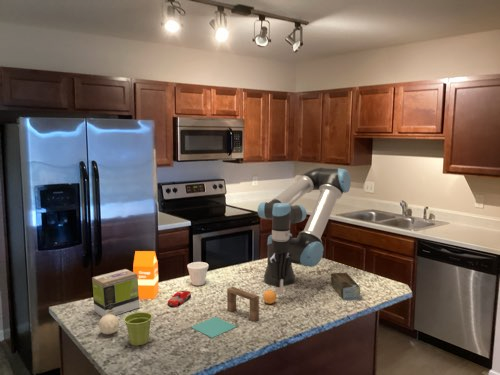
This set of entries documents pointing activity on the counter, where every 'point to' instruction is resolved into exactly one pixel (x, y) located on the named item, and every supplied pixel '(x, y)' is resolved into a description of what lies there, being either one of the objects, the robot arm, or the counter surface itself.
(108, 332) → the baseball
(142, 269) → the orange juice
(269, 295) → the ball
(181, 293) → the race car
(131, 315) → the plant pot
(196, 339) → the counter surface
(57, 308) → the counter surface
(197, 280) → the cup
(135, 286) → the tea box
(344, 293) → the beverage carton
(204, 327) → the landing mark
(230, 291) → the bridge
